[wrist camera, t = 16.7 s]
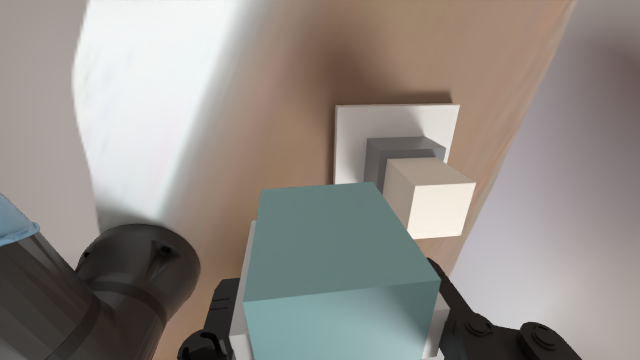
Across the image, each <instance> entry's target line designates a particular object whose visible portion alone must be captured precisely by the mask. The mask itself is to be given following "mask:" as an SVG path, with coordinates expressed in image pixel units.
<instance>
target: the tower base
mask: <svg viewBox="0 0 640 360" xmlns="http://www.w3.org/2000/svg"><path fill="white" fill-rule="evenodd" d="M459 107H460V105H458V104H454V103H432V104H372V105H335V136H334V170H333V184H346V183H360V182H373V183H374V184H375V186H376V187H377V188H378V190H379V191H380V193H381V194H382V195H383V188H384V180H385V172H386V164H387V159H401V158H428V157H437V158H438V159H440V160H441V161H443V162H444V163H446V164H447V160H448V155H449V151H450V147H451V142H452V138H453V133H454V129H455V125H456V120H457V116H458V111H459Z"/></svg>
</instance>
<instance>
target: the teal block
mask: <svg viewBox="0 0 640 360" xmlns="http://www.w3.org/2000/svg"><path fill="white" fill-rule="evenodd" d="M440 283H441V279H440V277H439V276H438V274H437V273H436V271H435V270H434V269H433V267H432V266H431V264H430V263H429V261H428V260H427V259H426V257H425V256H424V254H423V253H422V251H421V250H420V248H419V247H418V246H417V244H416V243H415V241H414V240H413V238H412V237H411V236H410V234H409V233H408V231H407V230H406V228H405V227H404V226H403V224H402V223H401V221H400V220H399V218H398V217H397V216H396V214H395V213H394V211H393V210H392V208H391V207H390V206H389V204H388V203H387V201H386V200H385V198H384V197H383V196H382V194H381V193H380V191H379V190H378V188H377V187H376V186H375V184H374V183H373V182H360V183H346V184H332V185H318V186H304V187H290V188H276V189H262V190H261V196H260V202H259V208H258V214H257V220H256V226H255V232H254V238H253V244H252V250H251V256H250V262H249V268H248V274H247V280H246V286H245V292H244V298H243V306H244V311H245V316H246V321H247V326H248V330H249V335H250V340H251V345H252V350H253V355H254V359H255V360H422V356H423V352H424V348H425V344H426V340H427V336H428V332H429V328H430V323H431V319H432V315H433V311H434V307H435V303H436V299H437V295H438V291H439V287H440Z"/></svg>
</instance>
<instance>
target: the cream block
mask: <svg viewBox="0 0 640 360" xmlns="http://www.w3.org/2000/svg"><path fill="white" fill-rule="evenodd" d="M475 185H476V183H475V182H474V181H472V180H471V179H469V178H468V177H466V176H464V175H463V174H461V173H460V172H458V171H457V170H455V169H454V168H452V167H451V166H449V165H447V164H446V163H444V162H443V161H441V160H440V159H438V158H437V157H428V158H401V159H387V164H386V172H385V180H384V188H383V195H382V196H383V197H384V198H385V200H386V201H387V203H388V204H389V206H390V207H391V208H392V210H393V211H394V213H395V214H396V216H397V217H398V218H399V220H400V221H401V223H402V224H403V226H404V227H405V228H406V230H407V231H408V233H409V234H410V236H411V237H412V238H413V239H420V238H433V237H446V236H458V235H461V232H462V229H463V225H464V222H465V219H466V215H467V212H468V208H469V205H470V202H471V198H472V195H473V192H474V188H475Z"/></svg>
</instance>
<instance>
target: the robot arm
mask: <svg viewBox="0 0 640 360" xmlns="http://www.w3.org/2000/svg"><path fill="white" fill-rule="evenodd" d="M255 226H256V220H254V221H252V222H251V227H250V232H249V237H248V242H247V247H246V253H245V258H244V263H243V268H242V273H241V278H234V279H224V280H222V281H221V282H220V284H219V285H218V286H217V287H216V289H215V291H214V294H213V298H212V302H211V304H210V308H209V311H208V315H207V318H206V321H205V325H204V328H203V329H202V330H199V331H197V332H195V333H193V334H191V335H190V336H189V337H188V338H187V339H186V340H185V341H184V342H183V344H182V345H181V347H180V349H179V352H178V356H177V359H178V360H255V359H254V355H253V350H252V345H251V340H250V335H249V330H248V326H247V321H246V316H245V311H244V306H243V298H244V292H245V286H246V280H247V274H248V268H249V262H250V256H251V250H252V244H253V238H254V232H255ZM39 230H40V227H39V225H38V224H37V223H34V222H31V221H30V220H29V219H28V218H27V217H26V216H25V215H24V214H23V213H22V212H21V211H19V210H18V208H16V207H15V206H14V205H13V204H12V203H11V202H10V201H9V200H8V199H7V198H6V197H5V196H4V195H2V194H1V193H0V360H152V358H153V355H154V353H155V350H156V348H157V345H158V343H159V340H160V338H161V335H162V333H163V331H164V328H165V326H166V324H167V322H168V321H169V320H170V319H171V318H172V316H173V315H174V314H175V313H176V312H177V311H178V309H179V308H180V307H181V306H182V304H183V303H184V302H185V301H186V300H187V299H188V298H189V297H190V296H191V294H192V293H193V291H194V289H195V287H196V284H197V281H198V278H199V275H200V261H199V258H198V256H197V254H196V252H195V251H194V249H193V248H192V247H191V246H190V245H189V244H188V243H187V242H186V241H185V240H184V239H183V238H181V237H180V236H178V235H176V234H175V233H173V232H171V231H168V230H166V229H163V228H160V227H156V226H151V225H144V224H130V225H123V226H118V227H115V228H112V229H110V230H108V231H106V232H104V233H103V234H101V235H100V236H99V237H97V238H96V239H95V240H94V242H92V243H91V244H90V245H89V247H87V249H86V250H85V251H84V252H83V254H82V256H81V258H80V260H79V263H78V266H77V268H76V270H75V271H74V270H73V269H72V268H71V267H70V266H69V265H68V263H66V261H65V260H64V259H63V258H62V257H61V256H60V255H59V254H58V252H56V250H55V249H54V248H53V247H52V246H51V245H50V244H49V242H48V241H47V240H46V239H45V238H44V237H43V235H41V233H40V232H39ZM426 259H427V260H428V261H429V263H430V264H431V266H432V267H433V269H434V270H435V271H436V273H437V274H438V276H439V277H440V279H441V283H440V287H439V291H438V295H437V299H436V303H435V307H434V311H433V315H432V319H431V323H430V328H429V332H428V336H427V340H426V344H425V348H424V352H423V356H422V358H429V357H435V356H437V353H438V349H439V348H440V350H441V351H442V353H443V355H444V357H445V358H444V360H582V359H581V358H580V357H579V356H578V355H577V353H576V352H575V351H574V350H573V349H572V348H571V347H570V346H569V345H568V344H567V343H566V342H565V340H564V339H563V338H562V337H561V336H560V335H558V334H557V333H556V332H555V331H553V330H552V329H550V328H549V327H547V326H545V325H542V324H539V323H536V322H527V323H524V324H523V325H522V326H521V328H520V330H516V329H510V328H505V327H499V326H495V325H493V324H492V323H491V322H490V321H489V320H487V319H486V318H485V317H483V316H481V315H480V314H478V313H474V312H473V311H472V310H471V308H470V307H469V306H468V304H467V303H466V302H465V300H464V299H463V297H462V296H461V295H460V293H459V292H458V291H457V289H456V288H455V287H454V285H453V284H452V283H451V282H450V280H449V278H448V277H447V276H446V275H445V273H444V272H443V270H442V269H441V268H440V266H439V265H438V264H437V263H435V262H434V261H433V260H431V259H430V258H426Z"/></svg>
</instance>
